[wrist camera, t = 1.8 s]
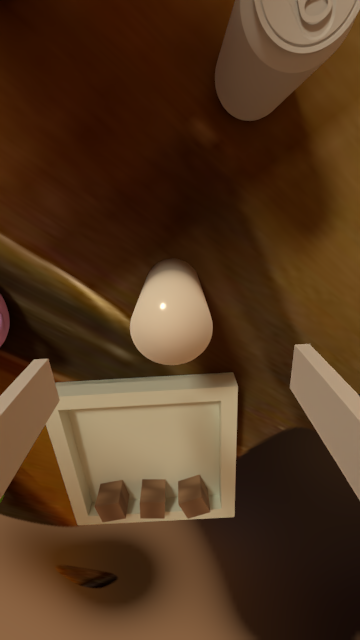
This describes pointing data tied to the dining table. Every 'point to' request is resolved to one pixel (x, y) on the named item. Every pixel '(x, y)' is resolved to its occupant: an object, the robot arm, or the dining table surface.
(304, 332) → the dining table surface
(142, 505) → the walnut cube
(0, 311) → the teapot
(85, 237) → the dining table surface
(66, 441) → the tray
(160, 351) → the white rounded tapered cylinder
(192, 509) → the walnut cube
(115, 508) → the walnut cube
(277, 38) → the beverage can
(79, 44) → the dining table surface
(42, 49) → the dining table surface
